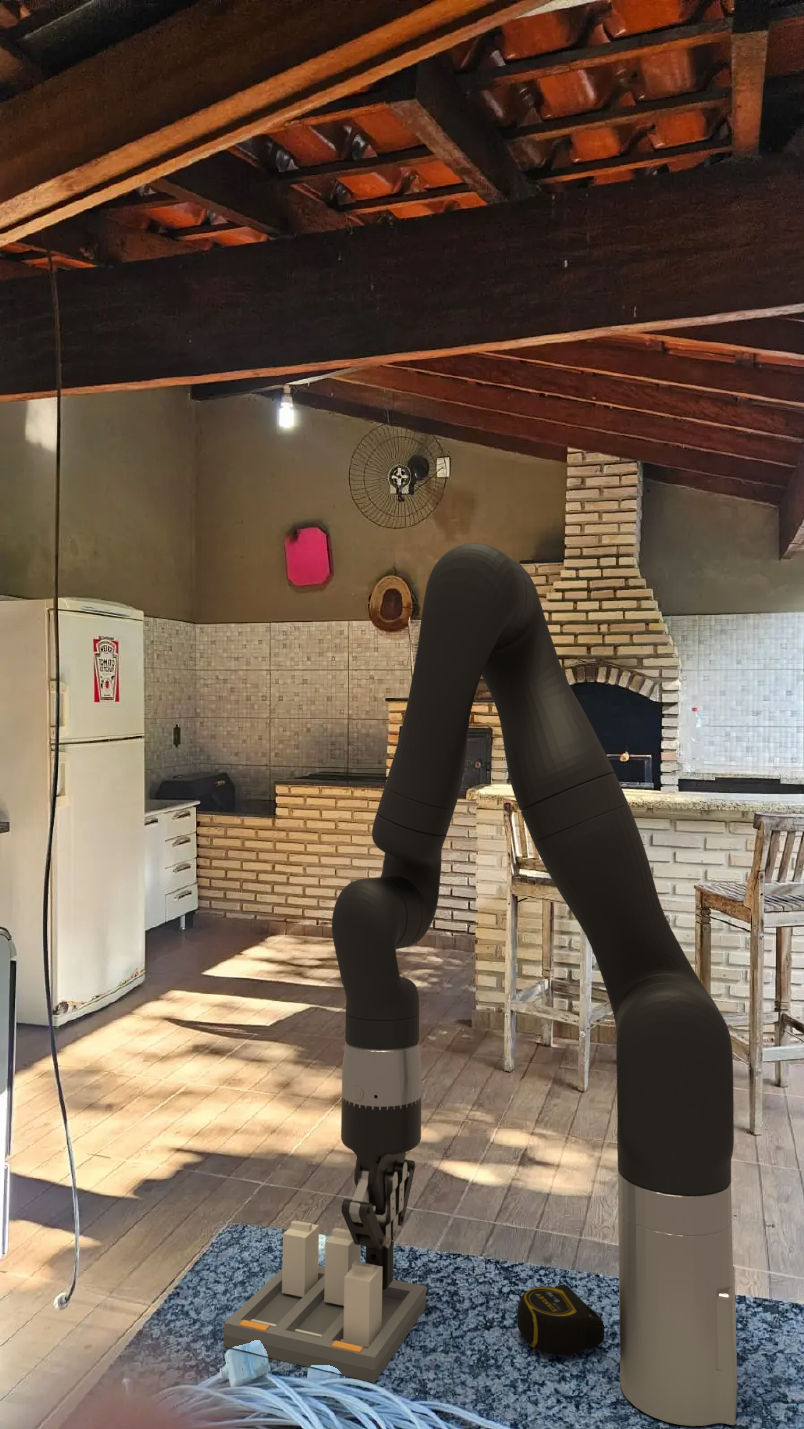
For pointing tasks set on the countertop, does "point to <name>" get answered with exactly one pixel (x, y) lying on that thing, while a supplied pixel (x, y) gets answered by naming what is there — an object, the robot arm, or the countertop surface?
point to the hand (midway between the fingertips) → (379, 1284)
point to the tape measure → (558, 1321)
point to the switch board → (323, 1327)
